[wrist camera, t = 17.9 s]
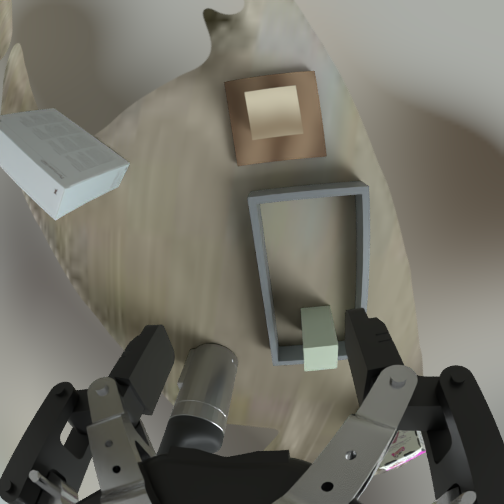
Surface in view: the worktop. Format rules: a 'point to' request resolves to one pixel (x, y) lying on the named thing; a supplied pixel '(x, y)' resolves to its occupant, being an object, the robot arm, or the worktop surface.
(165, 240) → the worktop surface
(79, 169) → the skincare box
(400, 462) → the candy bar box
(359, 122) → the worktop surface
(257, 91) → the birch block
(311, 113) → the walnut board
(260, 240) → the grey bin
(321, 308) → the sage block
